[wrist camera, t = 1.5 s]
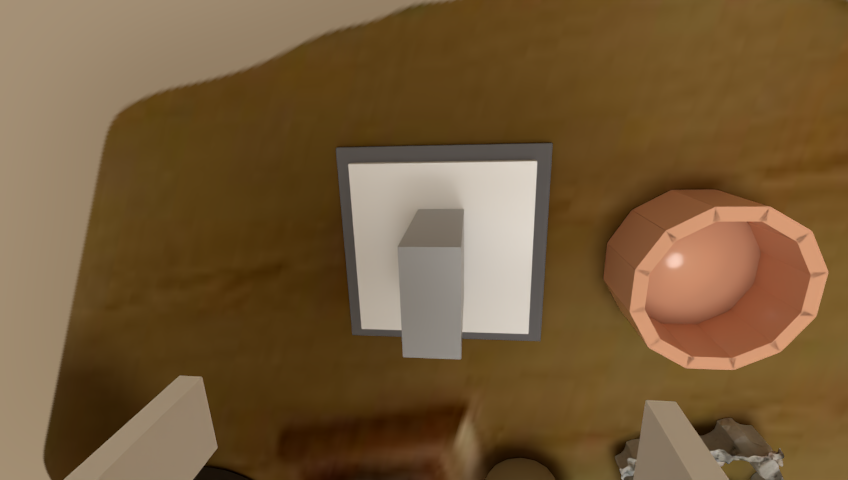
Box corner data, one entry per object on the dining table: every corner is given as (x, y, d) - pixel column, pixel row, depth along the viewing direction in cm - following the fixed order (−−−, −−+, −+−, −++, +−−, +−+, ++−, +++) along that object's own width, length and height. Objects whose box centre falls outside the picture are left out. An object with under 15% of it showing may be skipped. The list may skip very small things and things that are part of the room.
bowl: (598, 325, 30) (622, 365, 25) (612, 190, 27) (643, 207, 22) (745, 329, 28) (800, 372, 24) (777, 188, 26) (847, 206, 21)
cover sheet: (364, 323, 31) (324, 401, 23) (351, 162, 27) (299, 184, 19) (526, 328, 30) (548, 413, 21) (535, 159, 26) (565, 181, 18)
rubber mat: (354, 331, 32) (352, 335, 31) (338, 147, 28) (335, 147, 27) (539, 336, 30) (540, 341, 30) (550, 142, 26) (552, 143, 26)
